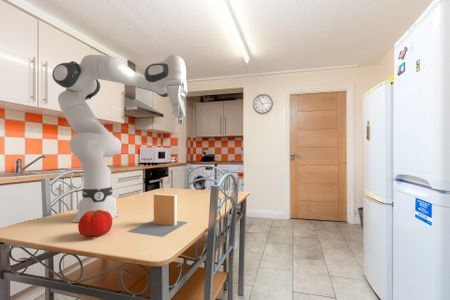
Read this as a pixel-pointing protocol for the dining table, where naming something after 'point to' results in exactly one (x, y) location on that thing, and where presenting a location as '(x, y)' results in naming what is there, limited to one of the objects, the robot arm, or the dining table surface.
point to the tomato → (95, 223)
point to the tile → (165, 209)
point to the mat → (156, 228)
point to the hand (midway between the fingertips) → (178, 120)
